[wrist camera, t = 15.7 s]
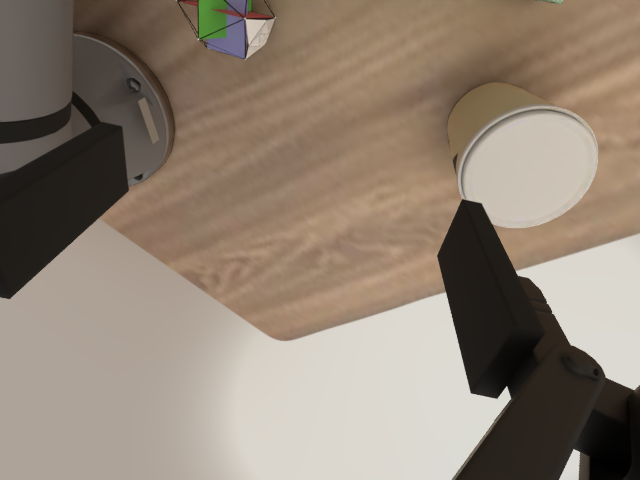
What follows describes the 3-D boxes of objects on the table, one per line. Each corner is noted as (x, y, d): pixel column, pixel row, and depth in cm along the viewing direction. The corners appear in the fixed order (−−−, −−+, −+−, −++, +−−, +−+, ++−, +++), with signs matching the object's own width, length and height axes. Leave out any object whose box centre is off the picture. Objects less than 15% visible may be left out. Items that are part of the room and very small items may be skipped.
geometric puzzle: (170, 41, 35) (197, 65, 30) (166, -54, 31) (196, -46, 26) (247, 46, 39) (283, 69, 34) (251, -39, 35) (293, -29, 30)
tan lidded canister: (417, 136, 40) (432, 189, 30) (488, 49, 35) (534, 78, 25) (488, 186, 42) (524, 252, 32) (564, 110, 37) (635, 160, 27)
